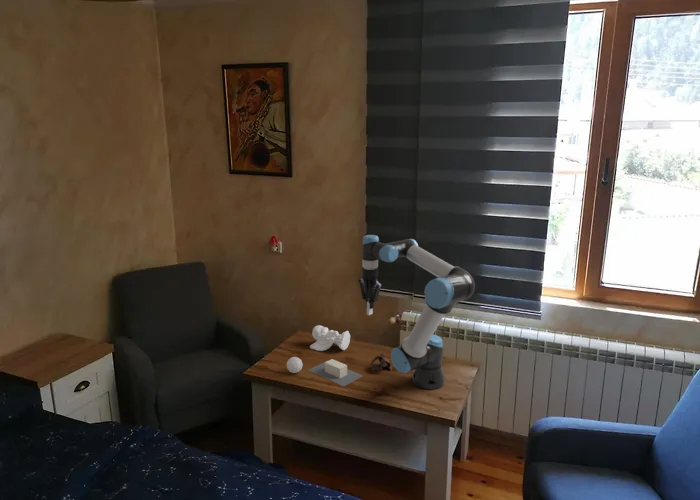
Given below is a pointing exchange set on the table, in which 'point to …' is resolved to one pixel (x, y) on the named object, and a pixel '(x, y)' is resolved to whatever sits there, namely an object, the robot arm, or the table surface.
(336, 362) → the cream block
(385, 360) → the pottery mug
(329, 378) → the grey mat
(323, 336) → the cherub figurine
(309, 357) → the table surface
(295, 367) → the geometric ball
